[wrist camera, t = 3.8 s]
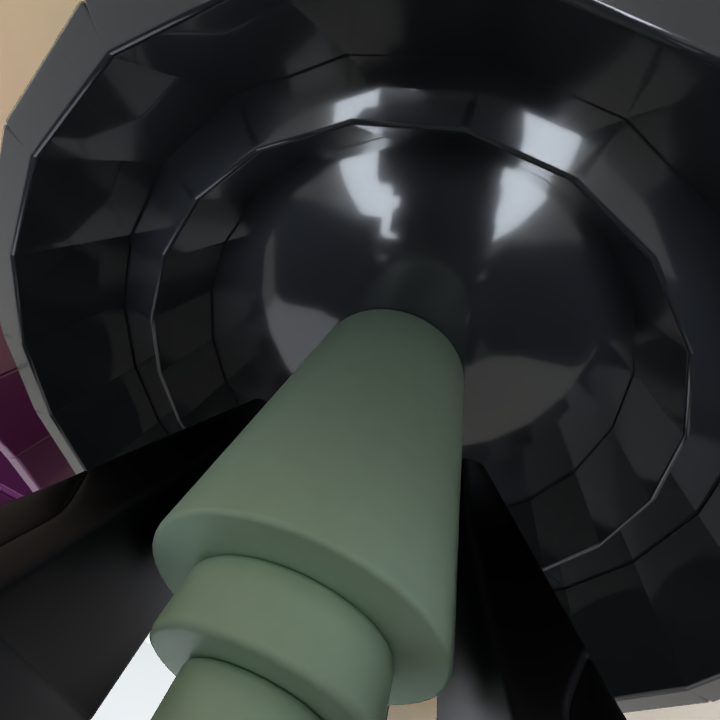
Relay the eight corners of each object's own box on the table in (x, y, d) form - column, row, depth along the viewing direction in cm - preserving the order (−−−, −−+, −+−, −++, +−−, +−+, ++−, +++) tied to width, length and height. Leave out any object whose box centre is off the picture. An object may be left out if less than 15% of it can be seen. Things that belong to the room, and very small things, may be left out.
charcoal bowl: (815, 433, 8) (1220, 741, 4) (377, 557, 16) (341, 705, 11) (434, -185, 5) (271, -1699, 1) (130, 327, 13) (-41, 406, 9)
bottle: (497, 395, 9) (646, 1727, 1) (382, 453, 12) (187, 1071, 4) (394, 274, 8) (-753, 1794, 1) (292, 362, 11) (-211, 899, 3)
